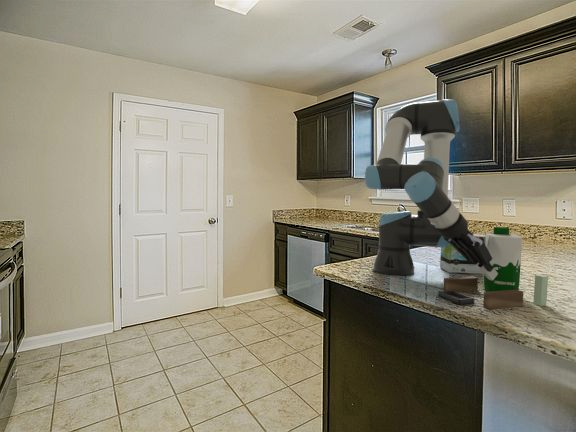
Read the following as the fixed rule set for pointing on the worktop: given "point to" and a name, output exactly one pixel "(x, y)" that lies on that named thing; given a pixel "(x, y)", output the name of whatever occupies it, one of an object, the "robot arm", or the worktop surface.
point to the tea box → (458, 260)
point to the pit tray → (456, 297)
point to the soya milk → (504, 259)
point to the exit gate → (538, 289)
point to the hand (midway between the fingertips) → (493, 276)
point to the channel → (490, 298)
